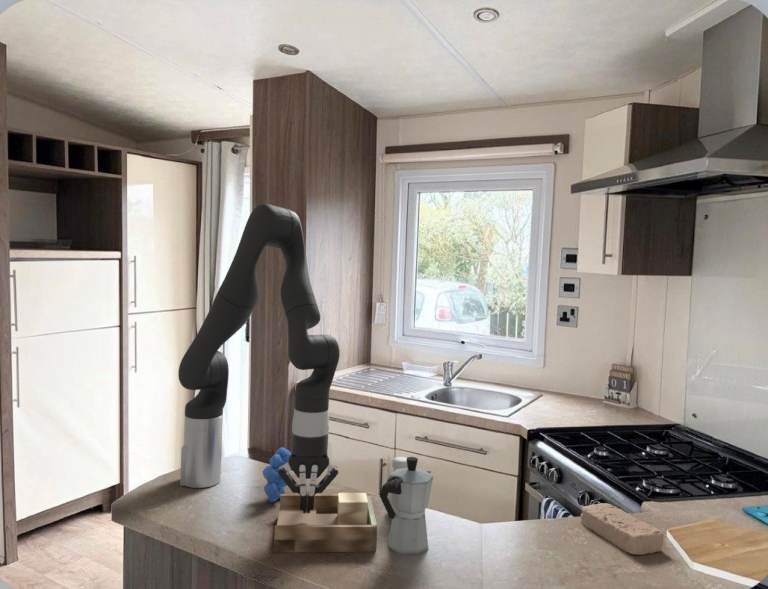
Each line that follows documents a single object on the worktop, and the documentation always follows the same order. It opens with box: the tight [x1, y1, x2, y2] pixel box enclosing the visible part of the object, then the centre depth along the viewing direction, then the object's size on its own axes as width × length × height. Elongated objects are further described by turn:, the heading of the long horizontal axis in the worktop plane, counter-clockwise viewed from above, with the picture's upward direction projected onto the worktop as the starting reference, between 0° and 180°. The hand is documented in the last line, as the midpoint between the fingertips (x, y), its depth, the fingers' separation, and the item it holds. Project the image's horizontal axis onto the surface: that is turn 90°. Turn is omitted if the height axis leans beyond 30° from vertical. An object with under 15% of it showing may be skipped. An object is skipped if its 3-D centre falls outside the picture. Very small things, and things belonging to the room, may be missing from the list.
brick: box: [580, 502, 665, 556], centre depth 122 cm, size 17×8×5 cm, turn 21°
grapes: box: [262, 446, 292, 503], centre depth 134 cm, size 12×7×12 cm, turn 165°
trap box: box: [273, 493, 378, 553], centre depth 117 cm, size 20×16×5 cm
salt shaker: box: [388, 456, 408, 510], centre depth 128 cm, size 6×6×13 cm
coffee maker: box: [378, 456, 434, 556], centre depth 113 cm, size 15×9×18 cm, turn 135°
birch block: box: [337, 492, 368, 525], centre depth 118 cm, size 6×5×5 cm
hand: (306, 511), depth 117 cm, fingers closed
